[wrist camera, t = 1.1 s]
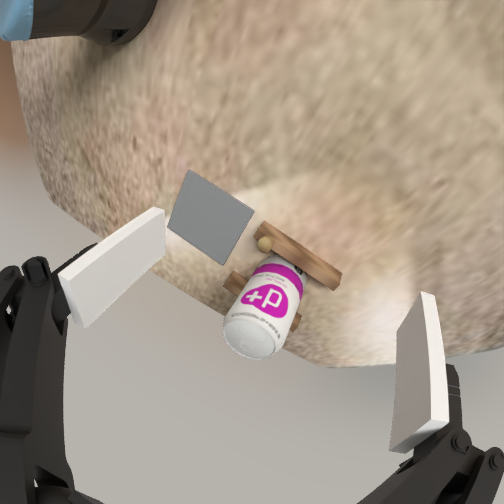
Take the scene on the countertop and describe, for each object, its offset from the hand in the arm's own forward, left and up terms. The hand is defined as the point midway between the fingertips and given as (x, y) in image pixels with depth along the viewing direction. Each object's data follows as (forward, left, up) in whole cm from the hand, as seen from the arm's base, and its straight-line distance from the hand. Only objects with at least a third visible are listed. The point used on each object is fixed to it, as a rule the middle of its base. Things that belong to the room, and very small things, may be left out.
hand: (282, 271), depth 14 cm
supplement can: (+3, -21, -27) cm, 34 cm away
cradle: (+3, -21, -27) cm, 34 cm away
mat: (-12, -20, -27) cm, 35 cm away
